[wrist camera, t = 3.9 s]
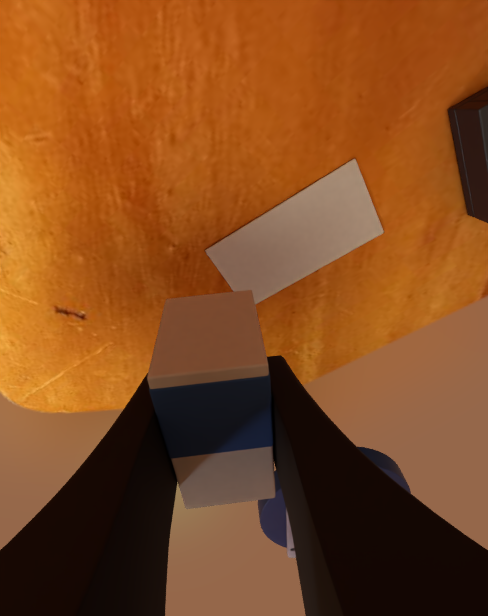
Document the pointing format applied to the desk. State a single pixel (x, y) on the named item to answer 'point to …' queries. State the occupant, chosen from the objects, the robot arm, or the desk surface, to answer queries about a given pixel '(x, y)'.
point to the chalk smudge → (299, 235)
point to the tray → (472, 150)
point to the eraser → (214, 398)
